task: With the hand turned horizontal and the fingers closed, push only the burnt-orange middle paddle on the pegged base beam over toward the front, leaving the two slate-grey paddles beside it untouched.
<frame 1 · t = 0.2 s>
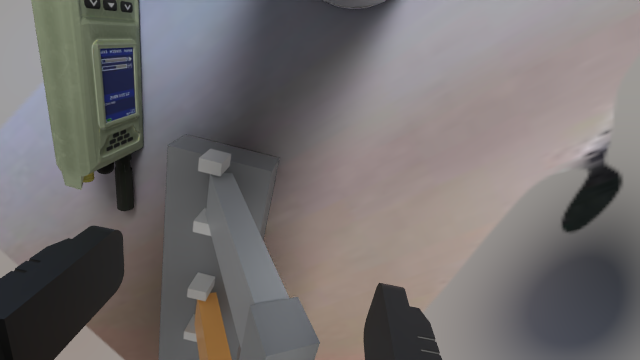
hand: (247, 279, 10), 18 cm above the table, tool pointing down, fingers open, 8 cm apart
handheld radio: (128, 62, 26), on the table
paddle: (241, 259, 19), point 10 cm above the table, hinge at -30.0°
pegged base beam: (215, 278, 33), on the table
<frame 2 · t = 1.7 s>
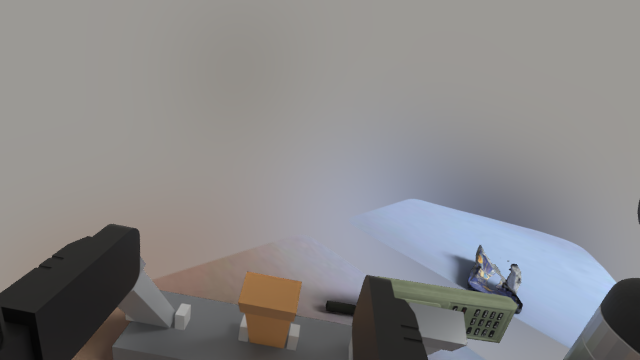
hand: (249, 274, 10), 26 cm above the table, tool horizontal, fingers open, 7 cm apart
snack package: (491, 289, 58), on the table
handheld radio: (411, 326, 46), on the table
orange paddle: (269, 319, 29), point 10 cm above the table, hinge at -30.0°
pegged base beam: (265, 358, 37), on the table
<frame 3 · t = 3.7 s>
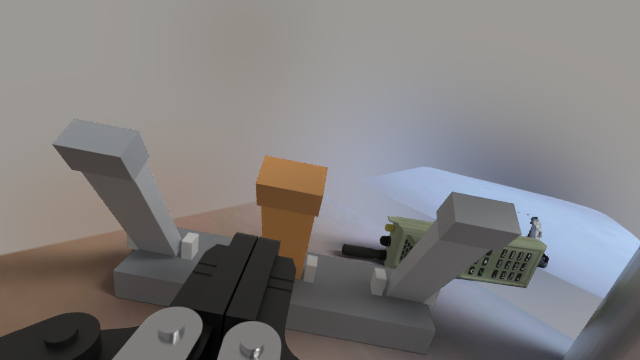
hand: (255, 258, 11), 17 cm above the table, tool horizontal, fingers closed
snack package: (509, 246, 54), on the table
handheld radio: (432, 271, 43), on the table
orange paddle: (287, 232, 26), point 10 cm above the table, hinge at -30.0°
pegged base beam: (279, 295, 34), on the table
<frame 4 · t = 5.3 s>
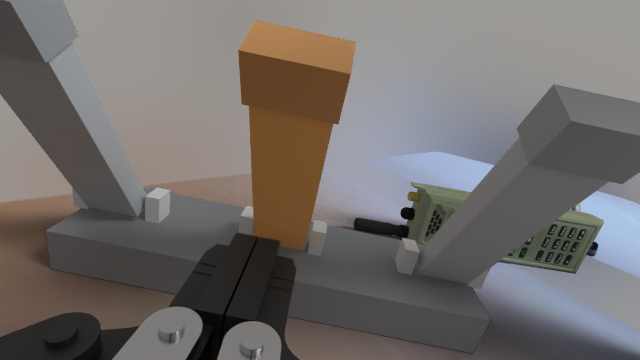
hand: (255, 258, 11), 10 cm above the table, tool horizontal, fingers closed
snack package: (544, 232, 46), on the table
handheld radio: (463, 253, 36), on the table
orange paddle: (288, 171, 18), point 10 cm above the table, hinge at -30.0°
pegged base beam: (275, 274, 26), on the table
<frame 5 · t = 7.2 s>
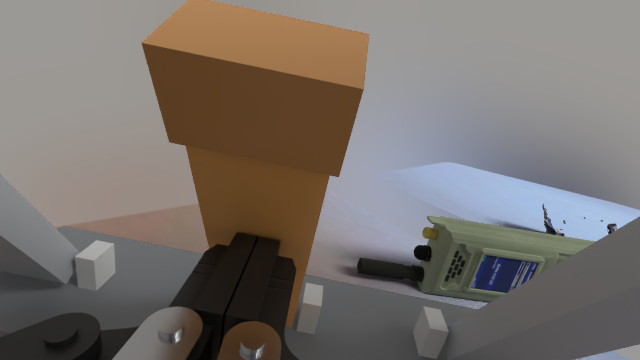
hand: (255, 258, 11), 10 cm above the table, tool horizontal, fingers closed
snack package: (576, 265, 39), on the table
handheld radio: (487, 297, 30), on the table
orange paddle: (263, 234, 12), point 11 cm above the table, hinge at -26.8°, touching gripper
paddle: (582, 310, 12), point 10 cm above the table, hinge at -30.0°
pegged base beam: (255, 350, 20), on the table
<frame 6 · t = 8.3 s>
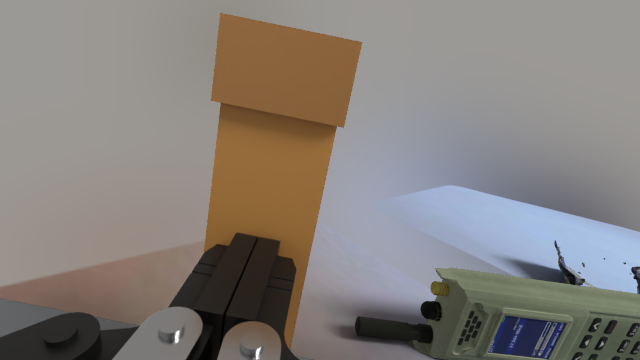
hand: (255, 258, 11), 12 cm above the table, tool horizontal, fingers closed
snack package: (597, 313, 34), on the table
handheld radio: (505, 357, 26), on the table
orange paddle: (260, 250, 12), point 11 cm above the table, hinge at 4.6°, touching gripper
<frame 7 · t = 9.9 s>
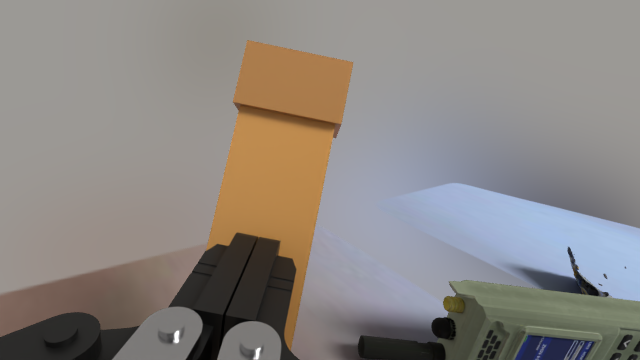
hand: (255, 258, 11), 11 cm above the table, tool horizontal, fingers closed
snack package: (619, 328, 31), on the table
orange paddle: (261, 250, 12), point 11 cm above the table, hinge at 27.1°, touching gripper
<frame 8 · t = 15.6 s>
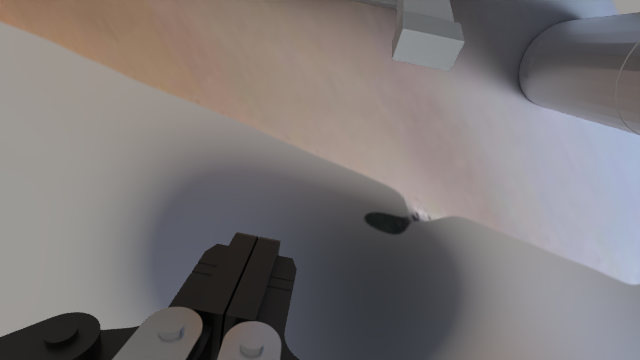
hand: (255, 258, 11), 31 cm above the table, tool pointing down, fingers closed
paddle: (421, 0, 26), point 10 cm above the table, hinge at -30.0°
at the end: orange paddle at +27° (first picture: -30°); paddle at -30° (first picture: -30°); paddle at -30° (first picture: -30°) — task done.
